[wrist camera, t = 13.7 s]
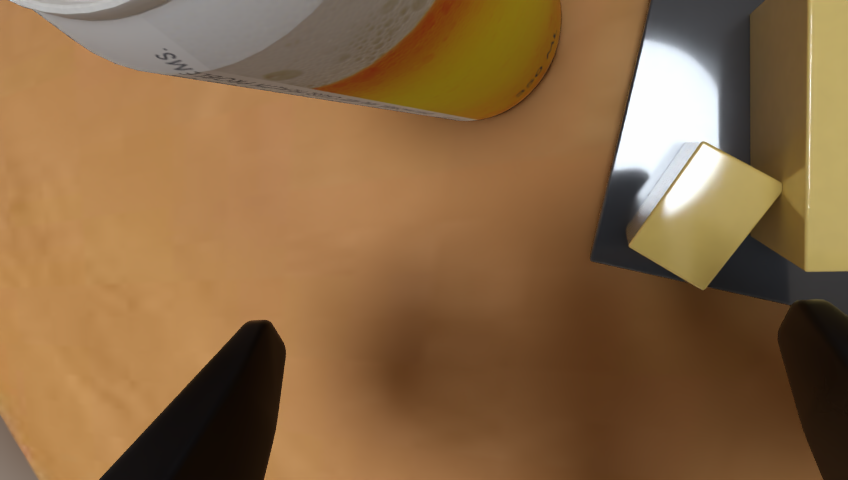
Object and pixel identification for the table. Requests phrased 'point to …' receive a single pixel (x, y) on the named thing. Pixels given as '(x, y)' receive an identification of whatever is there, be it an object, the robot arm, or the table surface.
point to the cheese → (735, 151)
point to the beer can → (331, 47)
